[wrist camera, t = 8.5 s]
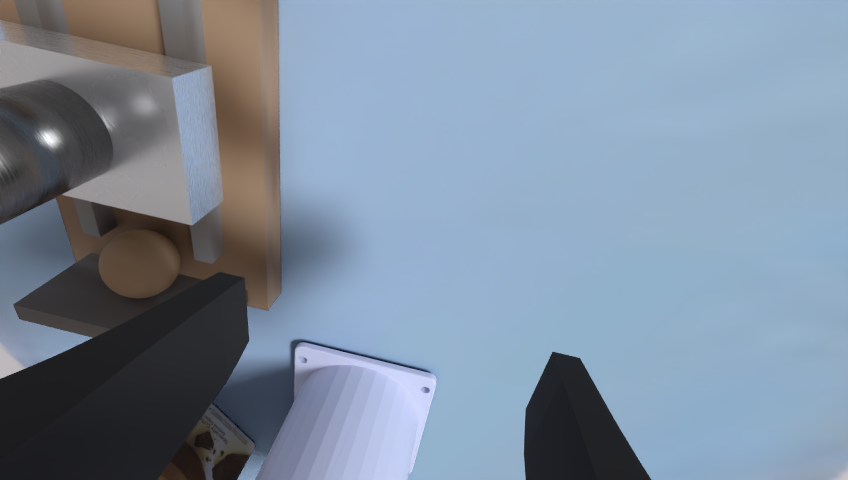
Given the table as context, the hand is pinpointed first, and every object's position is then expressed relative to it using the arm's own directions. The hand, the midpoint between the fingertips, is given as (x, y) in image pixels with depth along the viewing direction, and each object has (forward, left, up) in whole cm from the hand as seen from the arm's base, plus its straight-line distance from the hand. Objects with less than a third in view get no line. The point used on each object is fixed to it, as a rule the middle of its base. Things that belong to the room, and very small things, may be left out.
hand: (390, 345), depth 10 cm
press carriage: (+1, +12, -7) cm, 14 cm away
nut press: (+2, +12, -9) cm, 15 cm away
